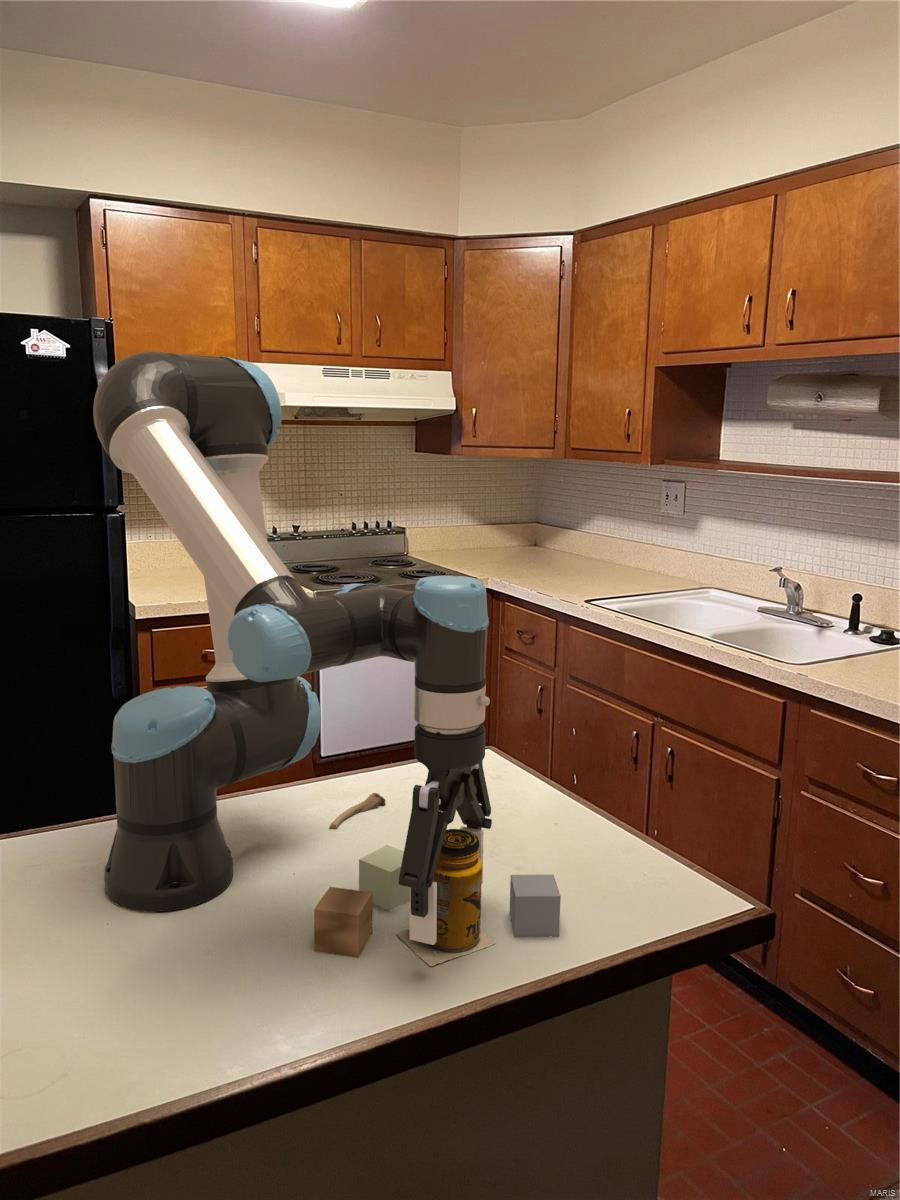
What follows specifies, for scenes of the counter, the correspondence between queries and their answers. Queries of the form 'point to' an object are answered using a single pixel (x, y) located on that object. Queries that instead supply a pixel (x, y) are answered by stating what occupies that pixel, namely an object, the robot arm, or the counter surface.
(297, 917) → the counter surface
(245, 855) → the counter surface
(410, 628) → the robot arm
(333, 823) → the bone
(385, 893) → the sage cube
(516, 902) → the slate cube
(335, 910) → the walnut cube
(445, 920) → the condiment
